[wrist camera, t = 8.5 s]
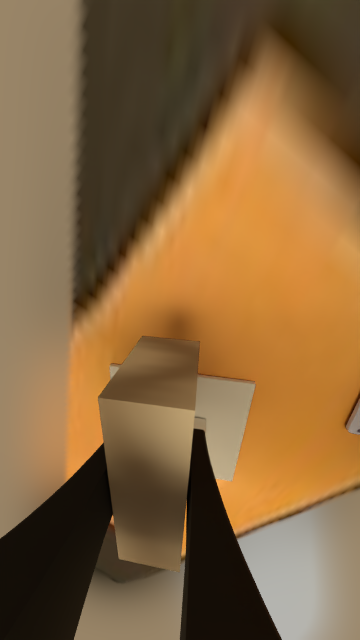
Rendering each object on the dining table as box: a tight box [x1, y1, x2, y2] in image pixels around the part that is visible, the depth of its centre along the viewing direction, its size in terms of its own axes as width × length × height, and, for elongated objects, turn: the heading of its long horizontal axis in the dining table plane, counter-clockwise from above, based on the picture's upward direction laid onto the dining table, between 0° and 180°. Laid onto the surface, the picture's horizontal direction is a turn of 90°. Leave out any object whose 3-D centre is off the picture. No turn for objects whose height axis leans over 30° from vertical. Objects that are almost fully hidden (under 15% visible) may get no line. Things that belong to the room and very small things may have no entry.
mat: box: [110, 364, 256, 481], centre depth 21 cm, size 14×14×1 cm
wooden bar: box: [98, 336, 200, 572], centre depth 10 cm, size 3×10×4 cm, turn 177°
